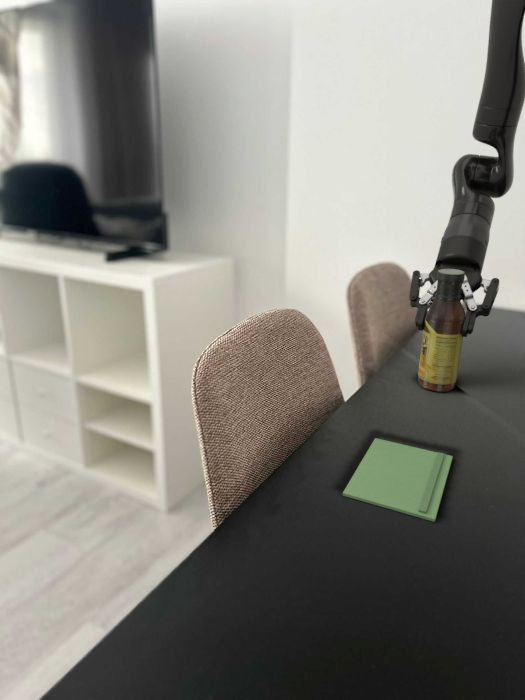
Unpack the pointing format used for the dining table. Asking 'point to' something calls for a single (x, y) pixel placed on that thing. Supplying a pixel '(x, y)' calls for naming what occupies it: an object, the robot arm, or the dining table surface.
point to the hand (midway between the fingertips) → (441, 330)
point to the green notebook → (401, 479)
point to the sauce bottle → (443, 334)
